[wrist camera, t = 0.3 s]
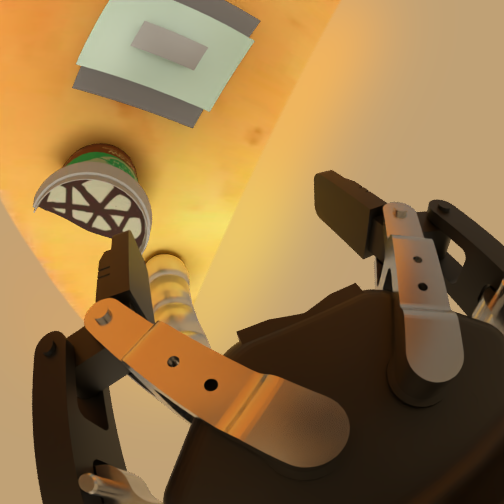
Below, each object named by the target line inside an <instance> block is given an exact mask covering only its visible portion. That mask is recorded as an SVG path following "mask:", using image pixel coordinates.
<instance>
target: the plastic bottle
mask: <svg viewBox="0 0 504 504" xmlns="http://www.w3.org/2000/svg"><path fill="white" fill-rule="evenodd" d="M146 267H147V271H148V276H149V284H150V292H151V299H152V306H153V313H154V319H155V323H156V322H157V321H162V322H164V323H166V324H168V325H169V326H171V327H173V328H174V329H176V330H178V331H179V332H181V333H183V334H185V335H186V336H188V337H190V338H192V339H193V340H195V341H197V342H199V343H201V344H203V345H204V346H206V347H208V348H210V349H211V347H210V344H209V342H208V339H207V338H206V335H205V333H204V331H203V329H202V327H201V325H200V323H199V321H198V319H197V316H196V313H195V311H194V308H193V305H192V301H191V295H190V289H189V274H188V271H187V269H186V267H185V265H184V263H183V262H182V261H181V260H180V259H179V258H177V257H175V256H173V255H170V254H159V255H156V256H154V257H152V258H151V259H150V260H149V261H148V262H147V263H146Z"/></svg>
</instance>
